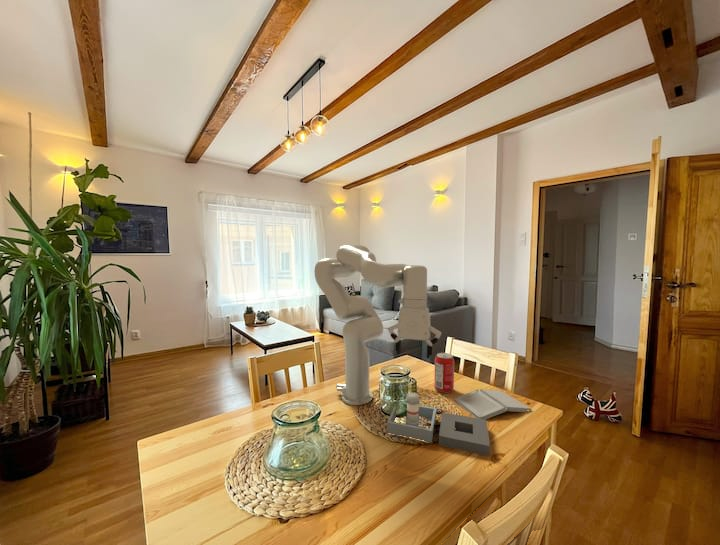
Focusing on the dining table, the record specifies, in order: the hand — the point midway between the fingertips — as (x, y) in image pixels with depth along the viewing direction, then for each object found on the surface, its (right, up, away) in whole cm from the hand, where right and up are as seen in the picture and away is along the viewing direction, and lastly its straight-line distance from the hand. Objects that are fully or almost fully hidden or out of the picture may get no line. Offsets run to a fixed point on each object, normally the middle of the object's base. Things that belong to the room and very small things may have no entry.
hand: (413, 355), depth 97 cm
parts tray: (0, -24, +1) cm, 24 cm away
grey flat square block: (+15, -25, -4) cm, 29 cm away
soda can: (+18, -23, +28) cm, 40 cm away
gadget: (+33, -24, +15) cm, 43 cm away
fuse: (0, -24, +1) cm, 24 cm away
